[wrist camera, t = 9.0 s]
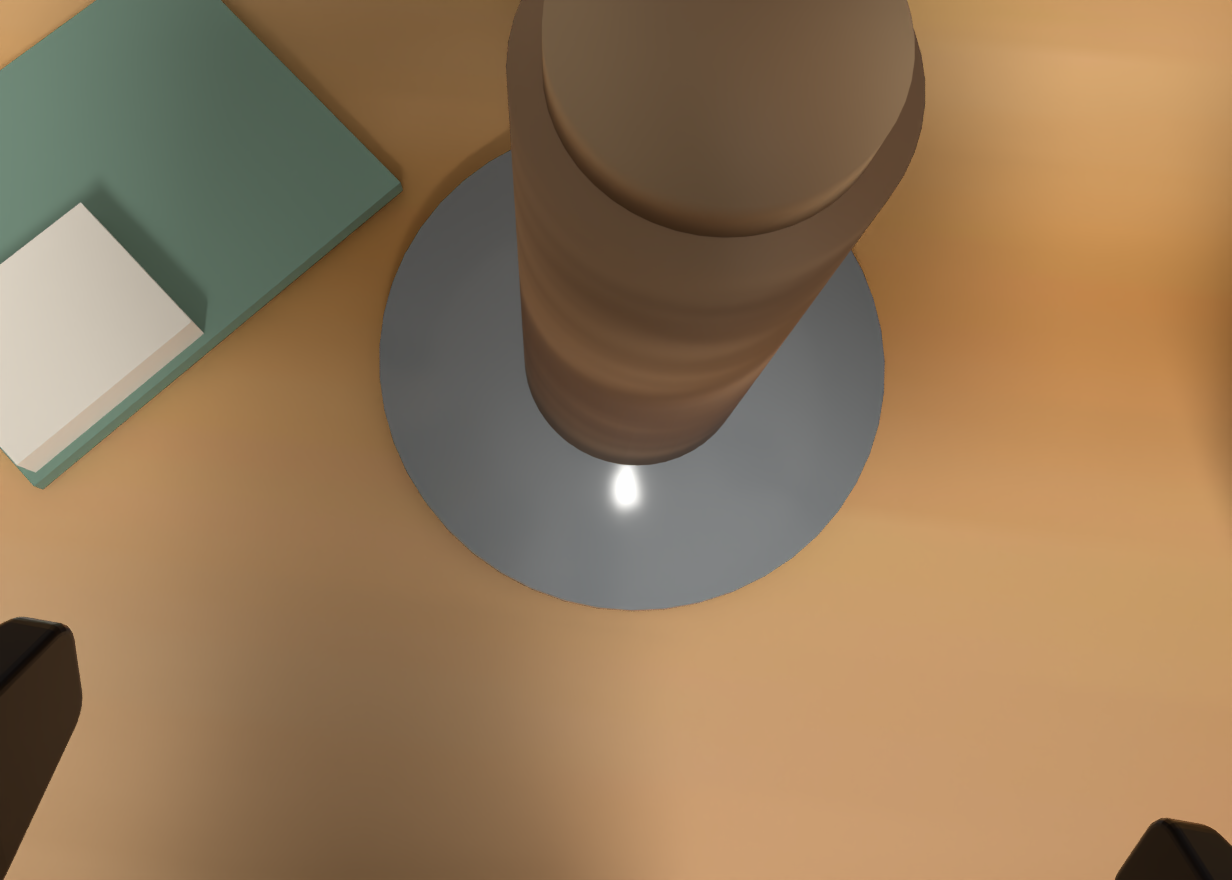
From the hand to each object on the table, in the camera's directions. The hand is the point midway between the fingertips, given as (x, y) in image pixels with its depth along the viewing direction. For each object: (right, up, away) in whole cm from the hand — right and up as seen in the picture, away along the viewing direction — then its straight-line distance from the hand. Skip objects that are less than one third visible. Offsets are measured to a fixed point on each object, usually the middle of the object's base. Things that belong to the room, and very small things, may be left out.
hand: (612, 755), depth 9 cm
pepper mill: (0, +4, +14) cm, 15 cm away
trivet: (0, +4, +15) cm, 15 cm away
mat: (-11, +8, +15) cm, 20 cm away
